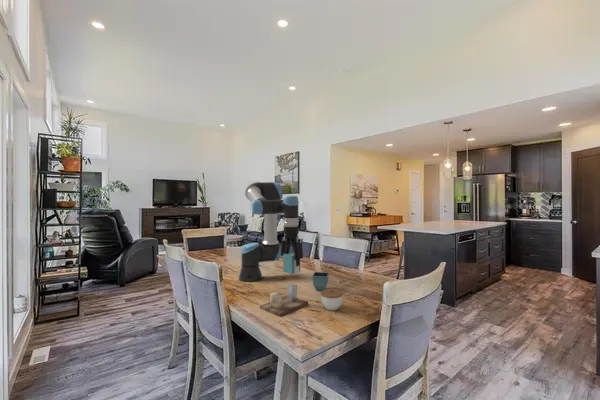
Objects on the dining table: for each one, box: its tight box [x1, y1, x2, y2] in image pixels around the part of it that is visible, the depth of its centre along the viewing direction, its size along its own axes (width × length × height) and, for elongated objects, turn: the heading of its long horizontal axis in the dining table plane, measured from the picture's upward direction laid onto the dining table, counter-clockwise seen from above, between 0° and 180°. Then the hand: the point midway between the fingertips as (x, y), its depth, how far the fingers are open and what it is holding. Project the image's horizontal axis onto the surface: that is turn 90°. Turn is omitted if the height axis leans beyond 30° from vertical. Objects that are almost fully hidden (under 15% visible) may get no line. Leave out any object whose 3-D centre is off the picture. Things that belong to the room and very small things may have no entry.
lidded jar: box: [320, 288, 344, 311], centre depth 143 cm, size 11×11×9 cm
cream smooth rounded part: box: [269, 292, 283, 309], centre depth 141 cm, size 6×6×8 cm
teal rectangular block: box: [282, 252, 301, 275], centre depth 149 cm, size 6×6×9 cm
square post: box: [286, 283, 298, 302], centre depth 150 cm, size 4×4×10 cm
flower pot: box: [311, 271, 330, 291], centre depth 172 cm, size 9×9×9 cm
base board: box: [259, 295, 309, 317], centre depth 146 cm, size 14×20×2 cm
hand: (291, 271), depth 149 cm, fingers closed on teal rectangular block, 6 cm apart
